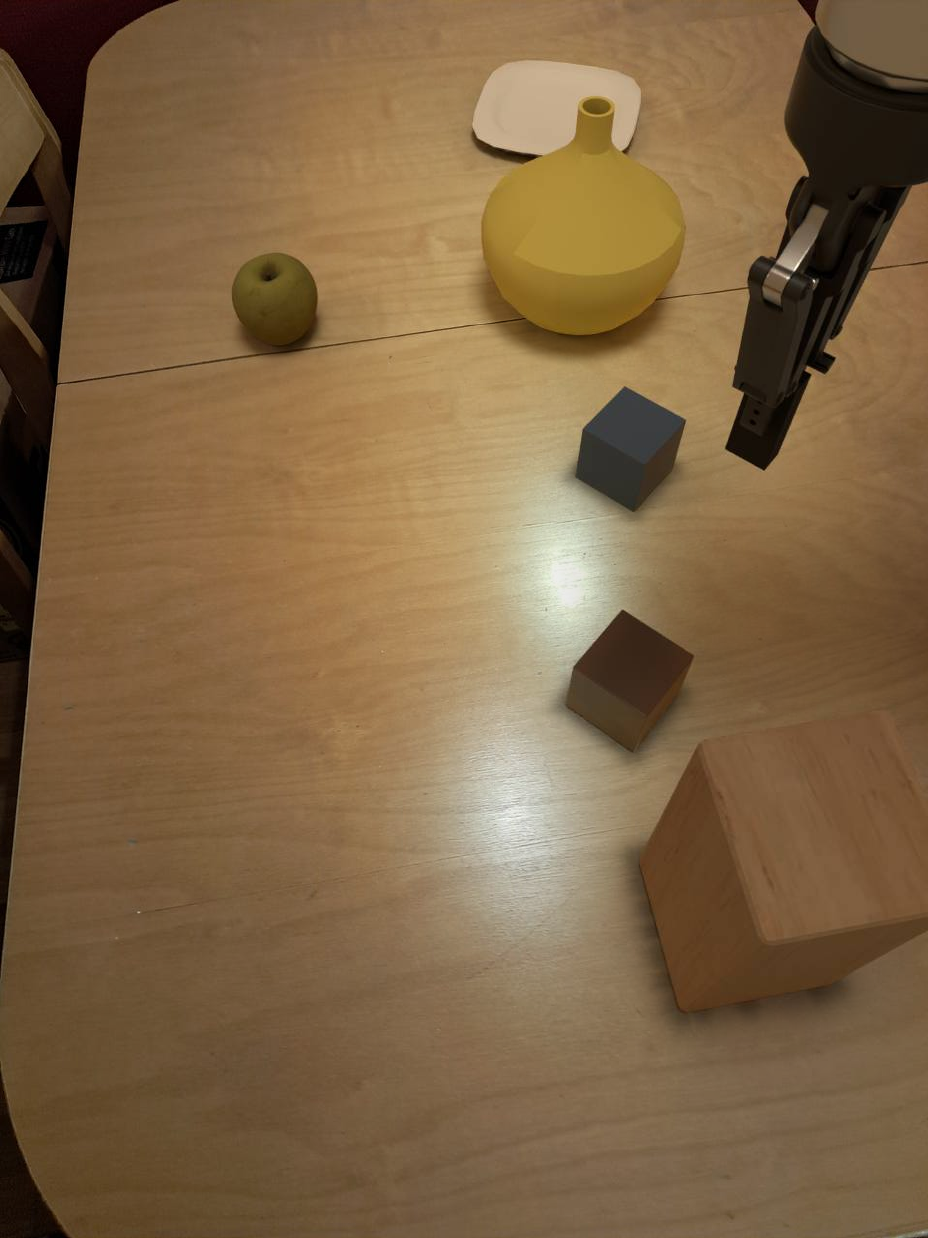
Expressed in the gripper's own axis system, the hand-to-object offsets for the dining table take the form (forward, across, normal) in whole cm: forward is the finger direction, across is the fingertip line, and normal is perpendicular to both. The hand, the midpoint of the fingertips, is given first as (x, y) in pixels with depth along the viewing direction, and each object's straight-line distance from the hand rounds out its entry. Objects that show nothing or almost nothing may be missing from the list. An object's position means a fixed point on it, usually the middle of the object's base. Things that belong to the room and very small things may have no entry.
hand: (751, 451), depth 56 cm
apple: (+20, -3, -47) cm, 51 cm away
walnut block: (+19, +9, 0) cm, 21 cm away
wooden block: (+20, +18, +14) cm, 30 cm away
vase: (+20, -24, -28) cm, 42 cm away
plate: (+20, -47, -47) cm, 69 cm away
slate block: (+19, -9, -12) cm, 25 cm away
